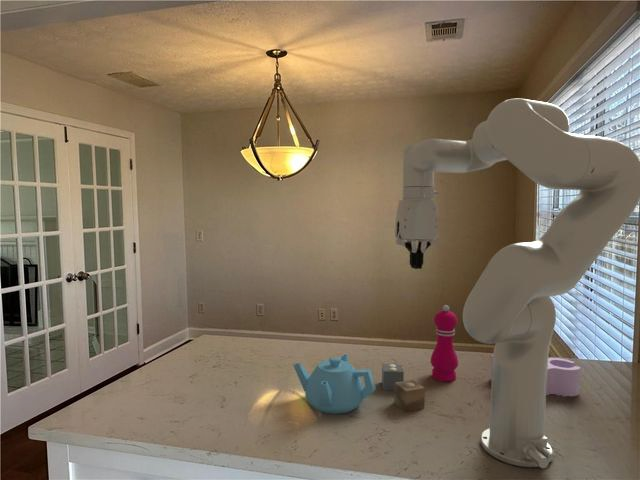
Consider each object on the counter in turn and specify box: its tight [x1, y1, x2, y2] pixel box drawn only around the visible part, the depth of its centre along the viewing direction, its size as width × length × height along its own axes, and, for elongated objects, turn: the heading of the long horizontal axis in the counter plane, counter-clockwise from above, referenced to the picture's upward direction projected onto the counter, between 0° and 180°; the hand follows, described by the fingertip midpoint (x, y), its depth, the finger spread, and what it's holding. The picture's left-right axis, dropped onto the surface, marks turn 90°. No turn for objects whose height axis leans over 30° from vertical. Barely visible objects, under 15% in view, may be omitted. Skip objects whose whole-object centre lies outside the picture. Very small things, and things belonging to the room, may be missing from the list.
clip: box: [490, 354, 581, 398], centre depth 112 cm, size 20×12×7 cm, turn 80°
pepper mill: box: [430, 304, 459, 382], centre depth 118 cm, size 7×7×20 cm
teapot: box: [293, 353, 377, 415], centre depth 102 cm, size 15×15×11 cm
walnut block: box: [393, 379, 426, 413], centre depth 101 cm, size 5×5×5 cm
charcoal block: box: [381, 363, 405, 391], centre depth 112 cm, size 5×5×5 cm
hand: (416, 267), depth 109 cm, fingers closed
